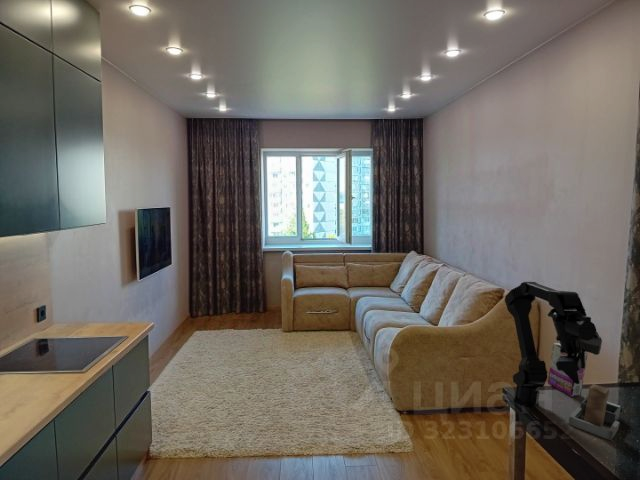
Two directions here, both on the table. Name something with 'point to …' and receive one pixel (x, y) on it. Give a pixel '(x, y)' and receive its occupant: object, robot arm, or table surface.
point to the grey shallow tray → (592, 425)
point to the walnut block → (596, 405)
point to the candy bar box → (564, 375)
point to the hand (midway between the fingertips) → (580, 375)
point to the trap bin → (610, 413)
